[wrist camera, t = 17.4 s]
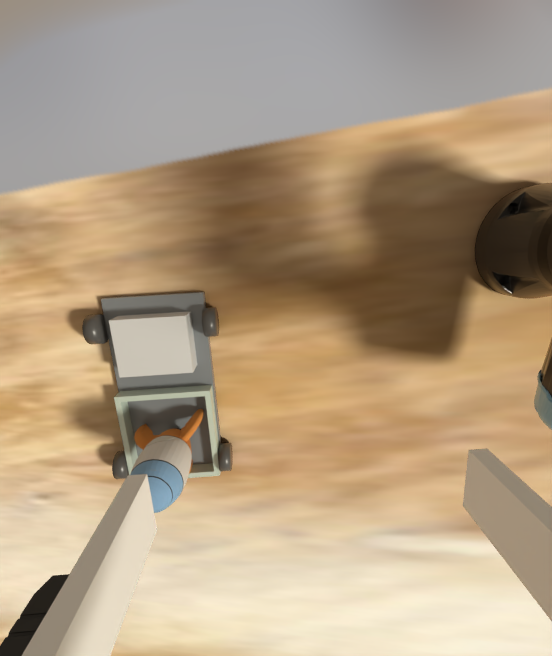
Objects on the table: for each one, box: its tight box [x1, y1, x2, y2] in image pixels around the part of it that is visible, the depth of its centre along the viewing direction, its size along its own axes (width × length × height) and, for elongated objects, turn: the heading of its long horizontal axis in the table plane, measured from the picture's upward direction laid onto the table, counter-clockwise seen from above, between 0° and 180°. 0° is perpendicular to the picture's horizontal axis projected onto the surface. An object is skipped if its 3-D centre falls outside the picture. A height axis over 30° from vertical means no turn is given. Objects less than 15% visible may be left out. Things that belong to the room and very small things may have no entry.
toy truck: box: [83, 292, 232, 479], centre depth 47 cm, size 17×28×4 cm, turn 3°
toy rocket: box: [130, 409, 204, 513], centre depth 44 cm, size 10×11×15 cm
